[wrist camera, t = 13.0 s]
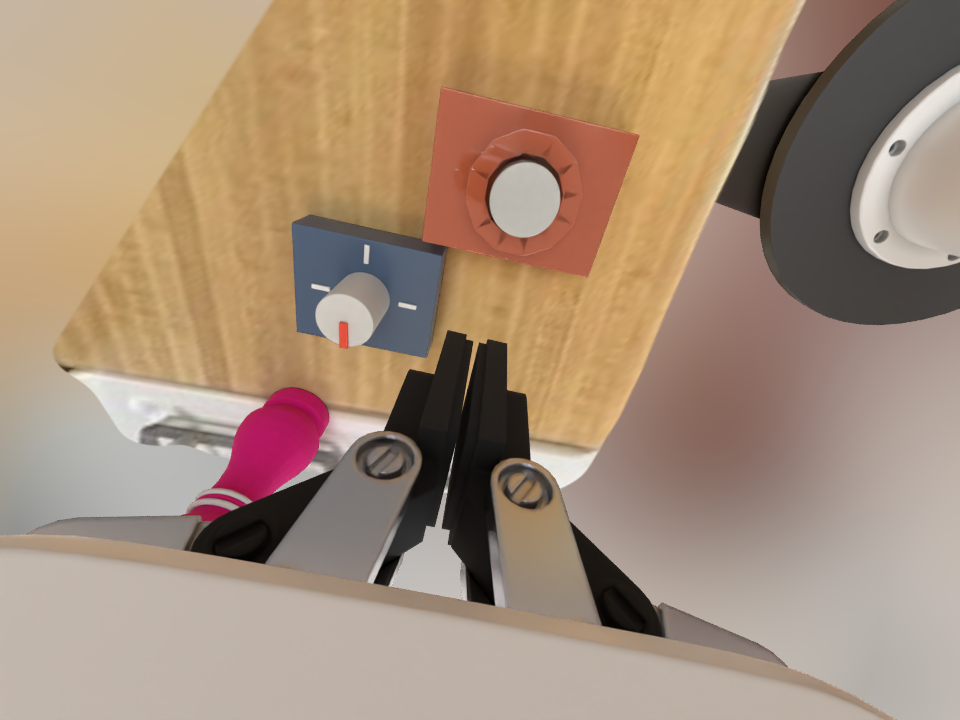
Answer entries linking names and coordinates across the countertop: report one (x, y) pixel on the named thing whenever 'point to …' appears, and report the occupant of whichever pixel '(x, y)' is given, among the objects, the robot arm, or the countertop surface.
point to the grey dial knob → (353, 309)
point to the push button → (524, 198)
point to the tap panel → (390, 257)
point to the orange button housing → (510, 137)
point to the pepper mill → (266, 452)
